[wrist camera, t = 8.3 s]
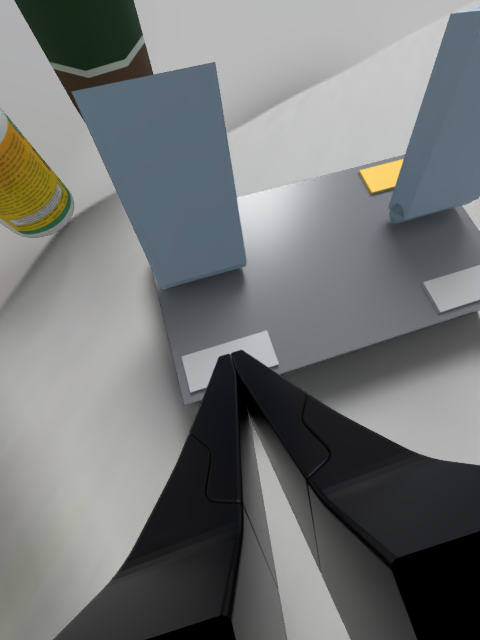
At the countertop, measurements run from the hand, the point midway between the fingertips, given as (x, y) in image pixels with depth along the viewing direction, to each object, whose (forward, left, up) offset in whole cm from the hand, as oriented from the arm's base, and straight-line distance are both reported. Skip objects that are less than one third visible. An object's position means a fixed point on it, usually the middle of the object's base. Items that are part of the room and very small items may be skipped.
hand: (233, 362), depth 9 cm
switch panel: (+5, -7, -8) cm, 12 cm away
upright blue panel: (+6, -15, -4) cm, 17 cm away
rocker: (+6, 0, -4) cm, 8 cm away
